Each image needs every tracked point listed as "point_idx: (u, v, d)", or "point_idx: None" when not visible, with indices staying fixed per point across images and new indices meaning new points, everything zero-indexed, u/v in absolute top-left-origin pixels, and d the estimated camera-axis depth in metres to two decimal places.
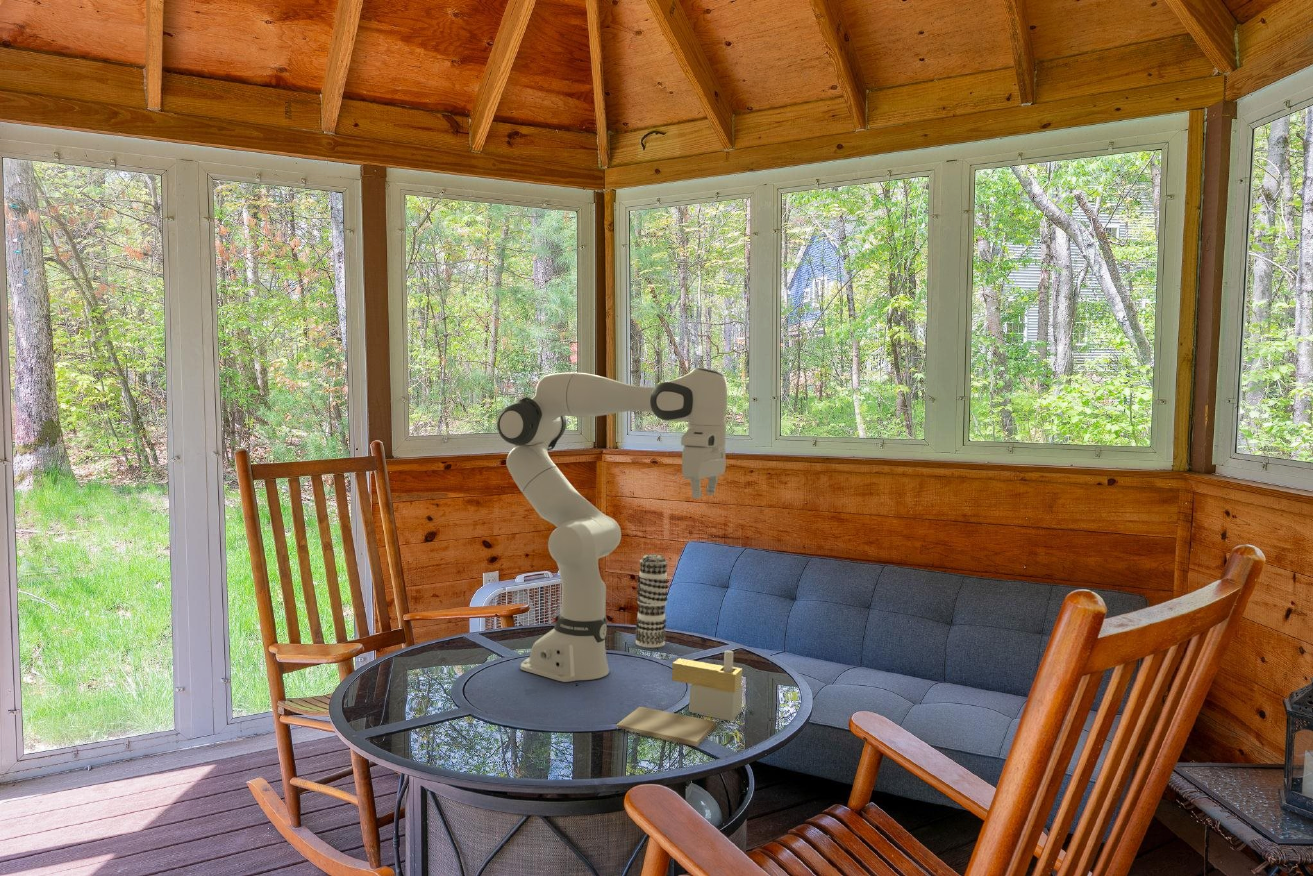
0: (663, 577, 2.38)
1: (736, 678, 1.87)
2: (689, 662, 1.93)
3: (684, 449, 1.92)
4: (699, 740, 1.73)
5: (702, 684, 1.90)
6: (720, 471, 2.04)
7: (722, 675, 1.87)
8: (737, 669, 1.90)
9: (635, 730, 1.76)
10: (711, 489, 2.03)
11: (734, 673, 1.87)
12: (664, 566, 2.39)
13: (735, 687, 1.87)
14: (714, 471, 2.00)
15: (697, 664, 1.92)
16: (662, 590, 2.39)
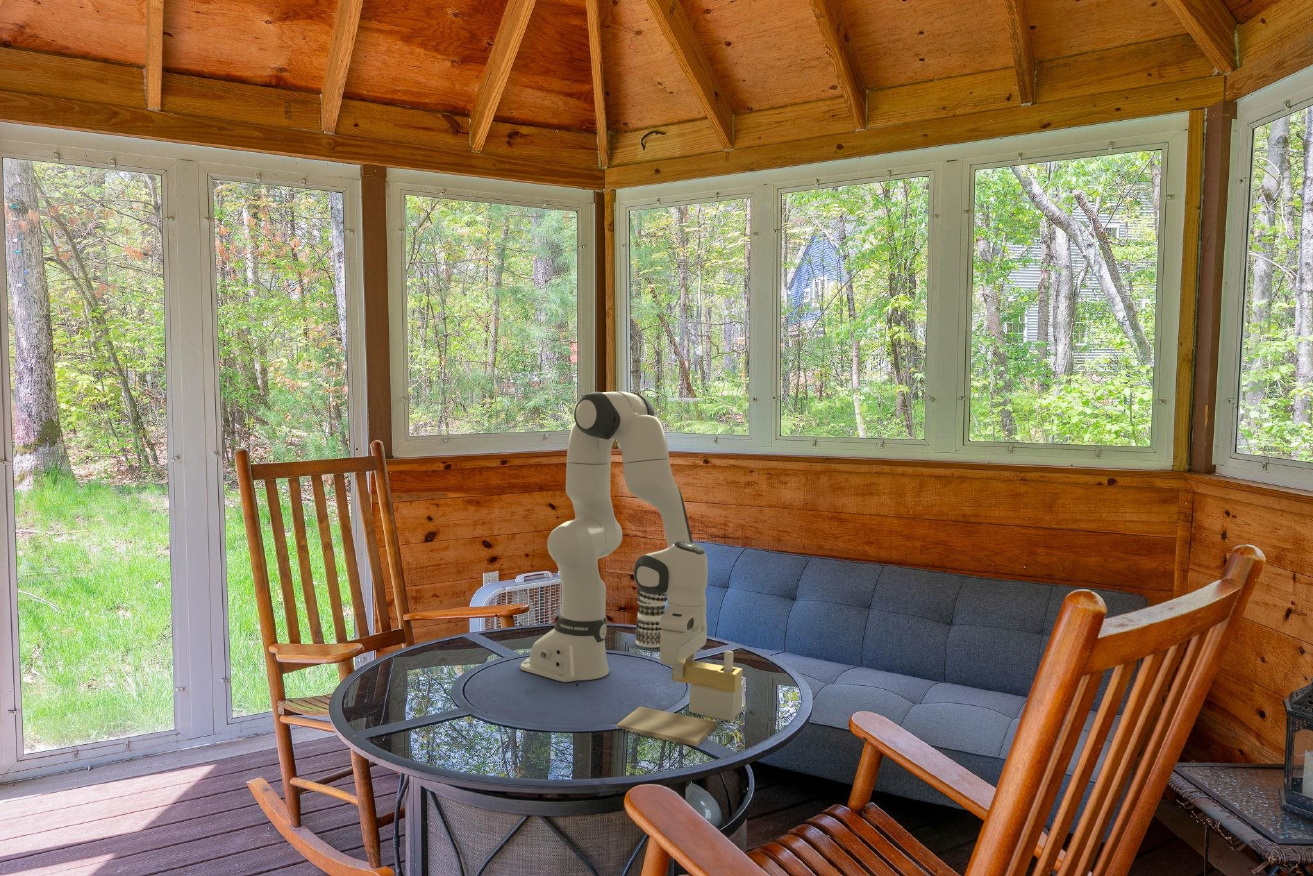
0: None
1: (736, 678, 1.87)
2: (689, 662, 1.93)
3: (662, 633, 1.85)
4: (699, 740, 1.73)
5: (702, 684, 1.90)
6: (701, 645, 1.98)
7: (722, 675, 1.87)
8: (737, 669, 1.90)
9: (635, 730, 1.76)
10: None
11: (734, 673, 1.87)
12: None
13: (735, 687, 1.87)
14: (695, 648, 1.94)
15: (697, 664, 1.92)
16: None
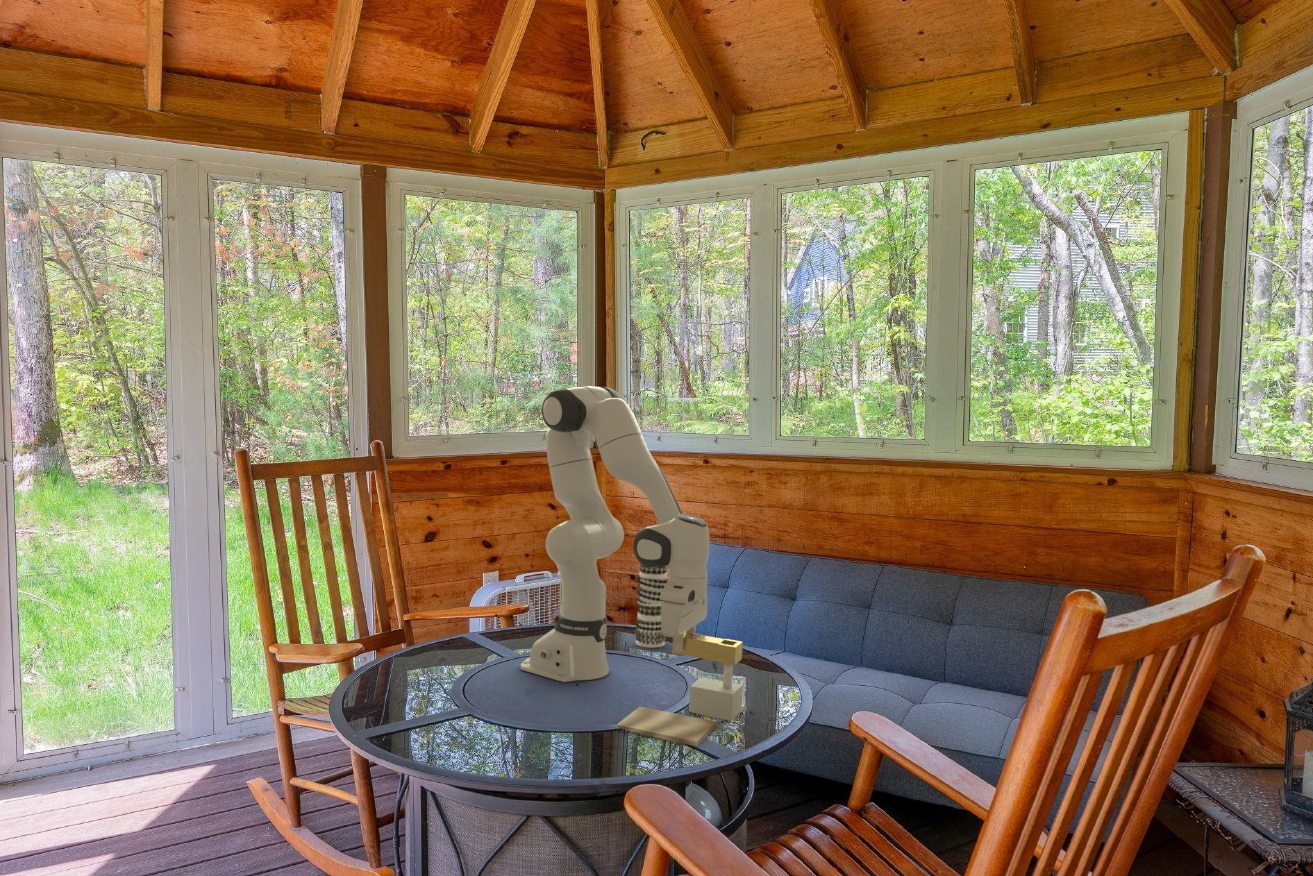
0: (663, 577, 2.38)
1: (736, 651, 1.87)
2: (689, 635, 1.93)
3: (663, 605, 1.85)
4: (699, 740, 1.73)
5: (702, 656, 1.89)
6: (701, 618, 1.98)
7: (722, 648, 1.87)
8: (737, 642, 1.90)
9: (635, 730, 1.76)
10: None
11: (734, 646, 1.87)
12: None
13: (735, 660, 1.87)
14: (695, 621, 1.94)
15: (698, 637, 1.92)
16: None
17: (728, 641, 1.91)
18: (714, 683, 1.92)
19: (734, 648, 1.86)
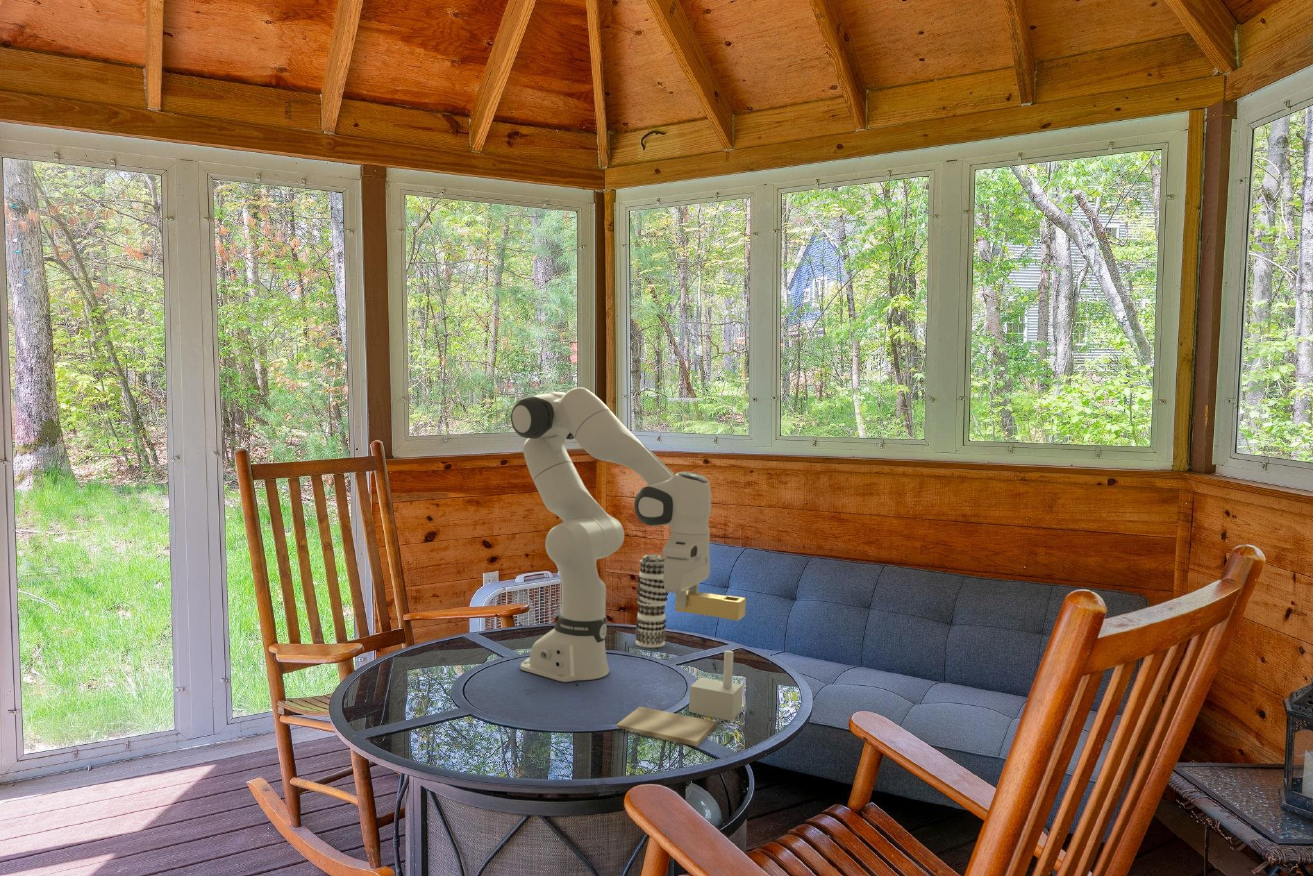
0: (663, 577, 2.38)
1: (739, 607, 1.86)
2: (692, 592, 1.93)
3: (665, 561, 1.85)
4: (699, 740, 1.73)
5: (706, 613, 1.89)
6: (704, 577, 1.97)
7: (725, 603, 1.86)
8: (741, 598, 1.89)
9: (635, 730, 1.76)
10: None
11: (738, 601, 1.86)
12: None
13: (739, 615, 1.86)
14: (698, 579, 1.93)
15: (701, 594, 1.91)
16: (662, 590, 2.39)
17: (731, 598, 1.90)
18: (714, 683, 1.92)
19: (737, 603, 1.85)
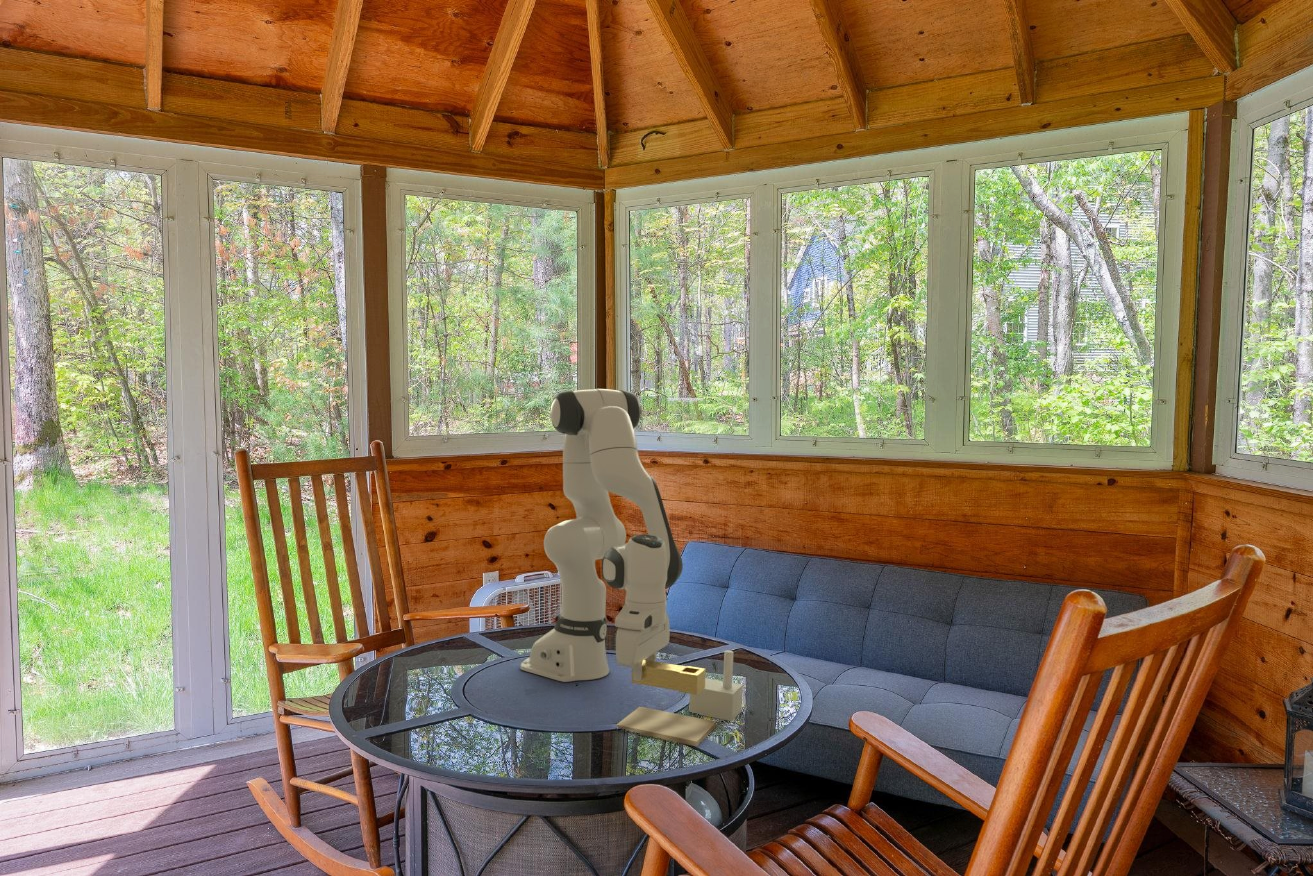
0: None
1: (698, 680, 1.75)
2: (649, 663, 1.82)
3: (618, 632, 1.74)
4: (699, 740, 1.73)
5: (663, 686, 1.78)
6: (663, 644, 1.86)
7: (683, 676, 1.75)
8: (700, 669, 1.78)
9: (635, 730, 1.76)
10: None
11: (696, 674, 1.75)
12: None
13: (697, 689, 1.75)
14: (655, 648, 1.82)
15: (658, 665, 1.80)
16: None
17: (690, 668, 1.79)
18: (714, 683, 1.92)
19: (696, 676, 1.74)
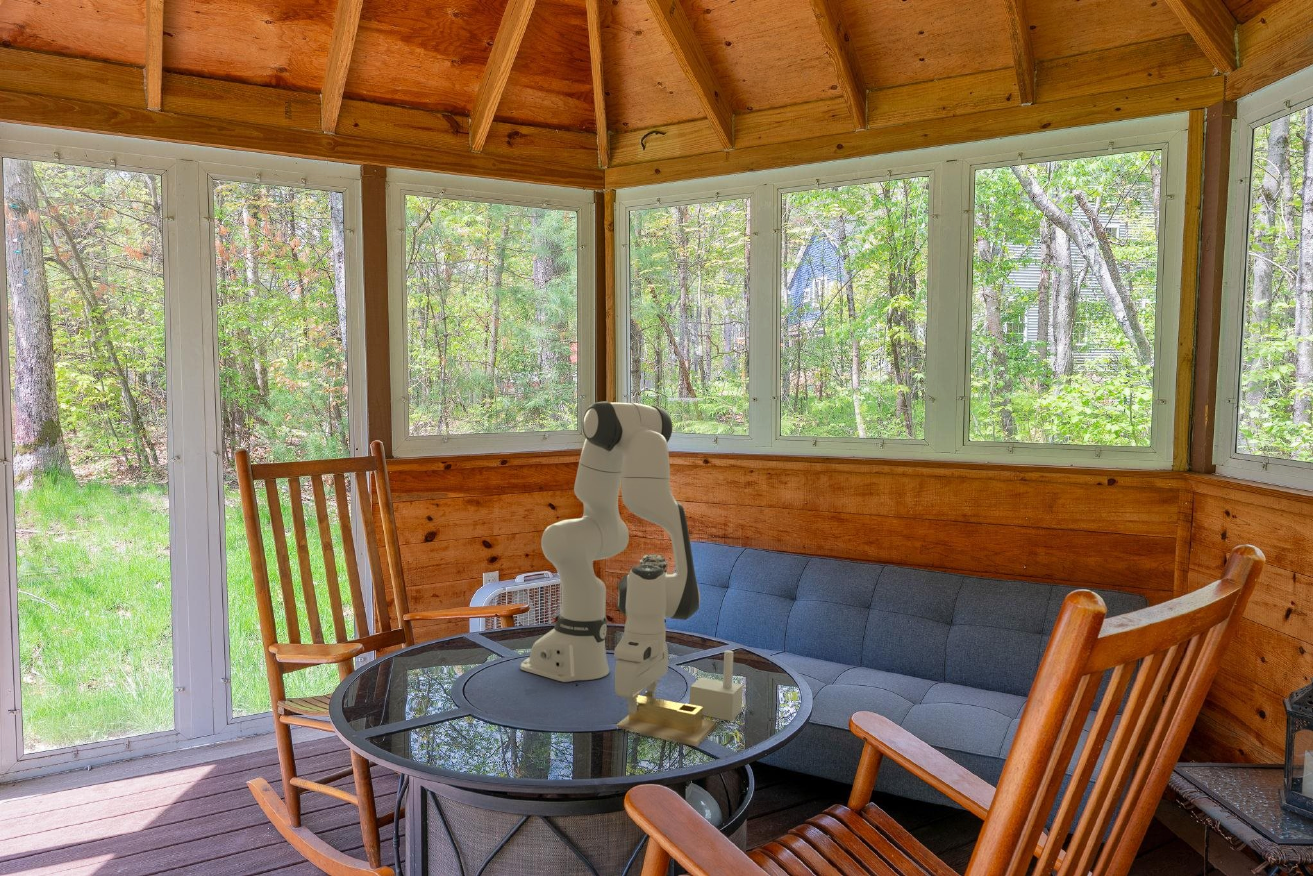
0: None
1: (695, 718, 1.76)
2: (647, 699, 1.82)
3: (617, 664, 1.74)
4: (699, 740, 1.73)
5: (660, 723, 1.79)
6: (661, 673, 1.87)
7: (681, 715, 1.76)
8: (697, 708, 1.79)
9: (635, 730, 1.76)
10: (650, 695, 1.85)
11: (694, 713, 1.76)
12: (664, 566, 2.39)
13: (695, 727, 1.76)
14: (654, 678, 1.83)
15: (656, 702, 1.81)
16: None
17: (688, 706, 1.80)
18: (714, 683, 1.92)
19: (693, 715, 1.75)
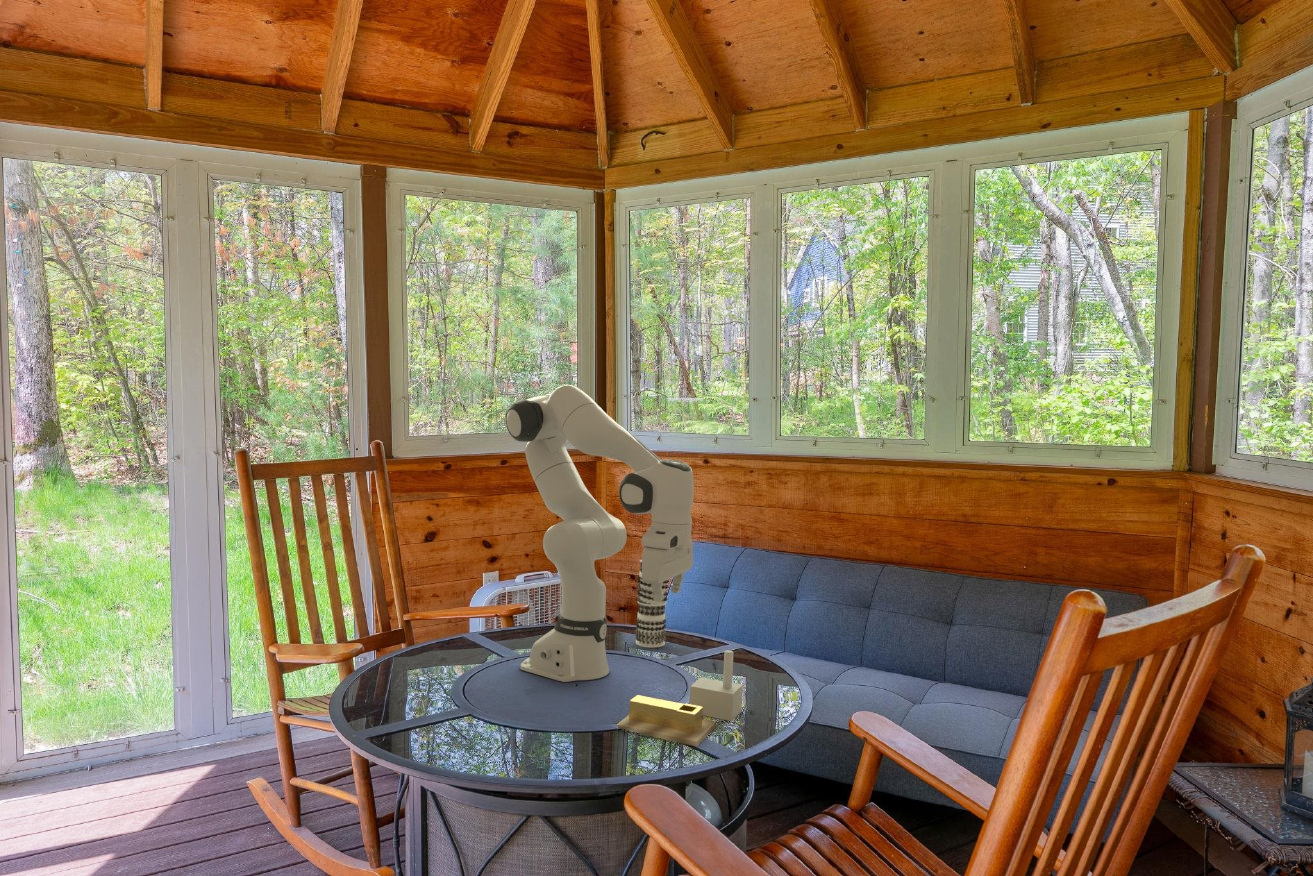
0: None
1: (695, 718, 1.76)
2: (647, 699, 1.82)
3: (644, 551, 1.79)
4: (699, 740, 1.73)
5: (660, 723, 1.79)
6: (686, 568, 1.91)
7: (681, 715, 1.76)
8: (697, 708, 1.79)
9: (635, 730, 1.76)
10: (676, 587, 1.91)
11: (694, 713, 1.76)
12: None
13: (695, 727, 1.76)
14: (679, 570, 1.88)
15: (656, 702, 1.81)
16: (662, 590, 2.39)
17: (688, 706, 1.80)
18: (714, 683, 1.92)
19: (693, 715, 1.75)
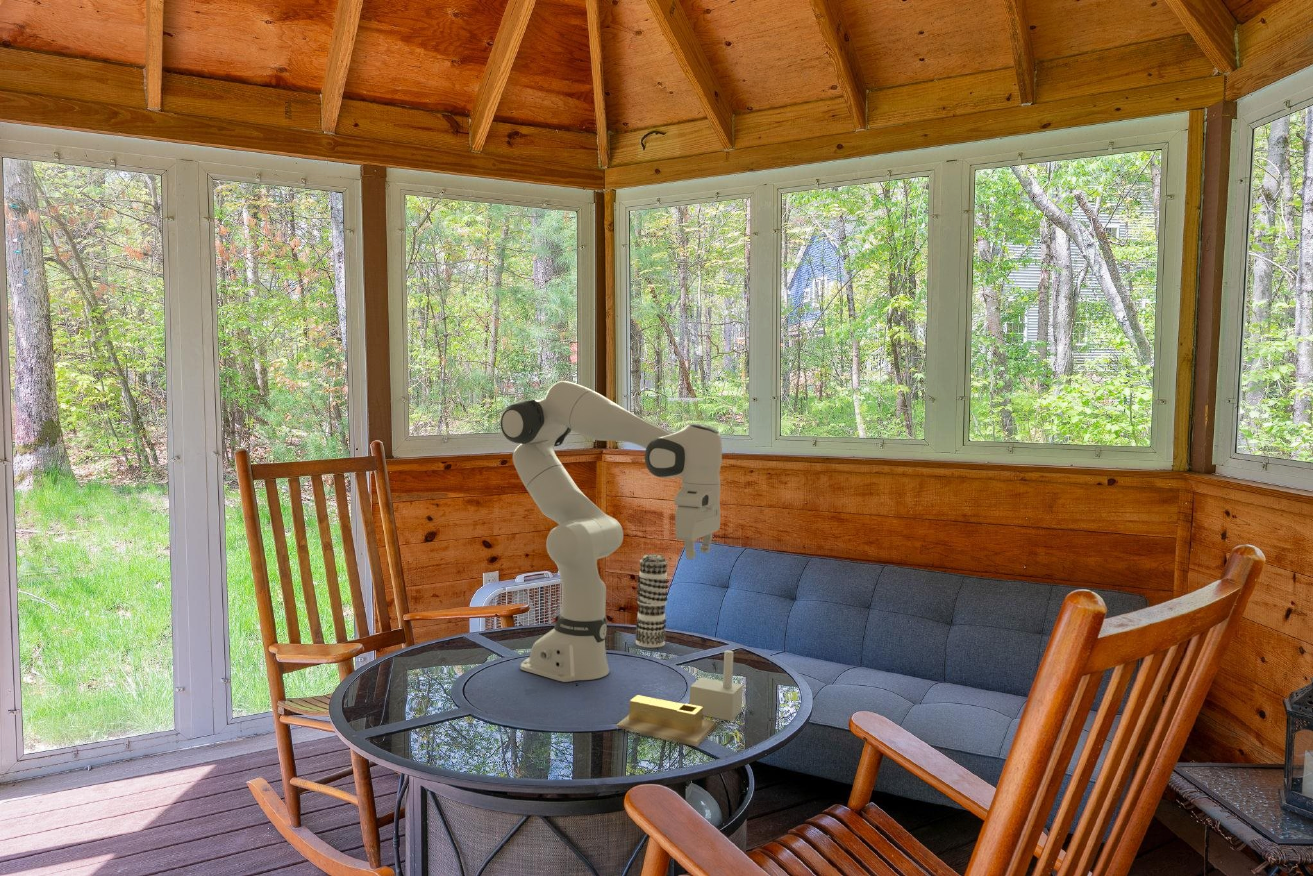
0: (663, 577, 2.38)
1: (695, 718, 1.76)
2: (647, 699, 1.82)
3: (677, 509, 1.87)
4: (699, 740, 1.73)
5: (660, 723, 1.79)
6: (715, 528, 1.99)
7: (681, 715, 1.76)
8: (697, 708, 1.79)
9: (635, 730, 1.76)
10: (705, 547, 1.98)
11: (694, 713, 1.76)
12: (664, 566, 2.39)
13: (695, 727, 1.76)
14: (709, 529, 1.95)
15: (656, 702, 1.81)
16: (662, 590, 2.39)
17: (688, 706, 1.80)
18: (714, 683, 1.92)
19: (693, 715, 1.75)
